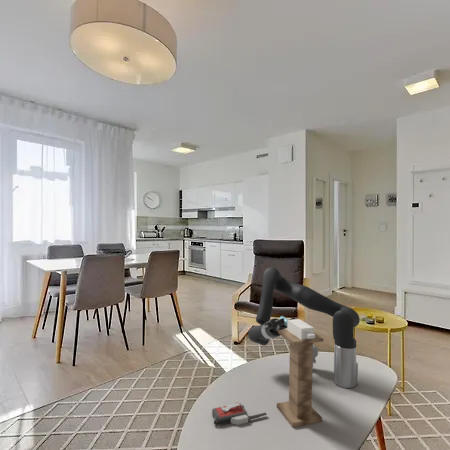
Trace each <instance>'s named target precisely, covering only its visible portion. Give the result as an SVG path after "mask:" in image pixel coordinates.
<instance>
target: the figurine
mask: <svg viewBox="0 0 450 450" xmlns="http://www.w3.org/2000/svg"><path fill="white" fill-rule="evenodd" d="M318 355H319V349H318V347H317V346H316V345H315V344H313V364H317V360H316V357H318ZM313 368H314V365H313V366H312V369H313Z"/></svg>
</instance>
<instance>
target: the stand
mask: <svg viewBox="0 0 450 450" xmlns="http://www.w3.org/2000/svg"><path fill="white" fill-rule="evenodd" d="M278 333H279V334H280V336H282V337H283V338H284V339H286V341H288V342H289V369H288V371H289V373H288V377H289V378H288V379H289V380H288V381H289V383H288V387H289V388H288V401H283V402H277V403H276V408H277V410H278V411H279V412H280V413H281V414H282V416H283V417H284V418H285V420H286V421H287V422H288V424H289V425H290V426H291V427H292V428H297V427H301V426H306V425H311V424H316V423H320V422H322V421H323V417H322V416H321V414H320V413H319V412H318V411H316V409H314V407H313V368H312V366H313V367H314V362H313V345H314V343H321V342H324V338H323V337H322V336H320V335H318V334H316V333H315V332H314V335H315V338H313V339H305V340H301V339H299V338H298V337H296V336H295V335H293V334H292V333H291V332H289V331H288V330H287V329H285V330H278Z"/></svg>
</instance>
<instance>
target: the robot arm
mask: <svg viewBox="0 0 450 450" xmlns="http://www.w3.org/2000/svg"><path fill="white" fill-rule="evenodd" d="M274 290H276V291H278V292H280V293H282V294H284V295H286V296H287V297H289V298H290V299H292V300H293V301H295V302H297V303H298V304H300V305H301V306H303V307H304V308H307V309H310V310H311V311H316V312H318V313H323V314H326V315H329V316H331V318H332V338H333V340H334V343H333V344H334V345H333V346H334V348H333V350H334V351H333V352H334V353H333V382H334V383H335V385H337V386H339V387H341V388H345V389H353V388H355V387H356V386H357V385H358V384H359V382H358V378H359V377H358V376H359V374H358V373H359V372H358V371H359V363H358V362H357V340H356V338H355V337H354V336H355V335H354V334H355V333H354V328H356V327H357V326H359V324H360V321H361V319H360V315H359V313H358V312H357V311H356V310H354V308H352V307H349V306H347V305H344V304H342V303H340V302H337V301H334V300H332V299H330V298H329V297H327V296H325V295H324V294H321V293H320V292H317V291H316V290H314V289H312V288H310V287H309V286H307V285H303V284H300V283H299V284H298V283H295V282H291V281H290V280H288V279H287V278H285V277H284V276H283V275H282V274H281V272H280V271H279V269H277V268H276V267H273V266H272V267H271V266H270V267H267V268H266V269H265V270H264V272H263V275H262V287H261V294H260V299H259V300H260V301H259V303H258V304H259V305H258V309H257V312H256V317H255V323H257V324H259V325H254V326H252V327H251V328H250V329H249V330H248V334H247V336H248V340H250V342H253V343H256V344H259V345H261V346H267V345H268V344H269V342H270V340H272V339H275V338H278V337H280V336H281V335H280V334H279V333H278V330H285V329H287V326H286V325H284V324H285V322H284V318H282V319H280V320H279V318H277V317H274V318H272V314H273V304H274V303H273V302H274V301H273V300H274V299H273V297H274V296H273V295H274ZM293 319H297V318H296V317H291V318H288V320H293Z"/></svg>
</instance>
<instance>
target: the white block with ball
mask: <svg viewBox="0 0 450 450" xmlns="http://www.w3.org/2000/svg"><path fill="white" fill-rule="evenodd" d="M282 318H284V322H285V324H284V325H286V326H287V330H288V331H289V332H291V333H292V334H293V335H295V336H296V337H298V338H299V339H301V340H305V339H313V338H315V335H314V333H315V329H314V326H312V325H310V324H308V323H307V322H305V321H303V320H301V319H300V318H296V319H293V320H289V318H287V317H285V316H284V315H281V316H280V317H279V318H278V319H279V320H280V319H282Z"/></svg>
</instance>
